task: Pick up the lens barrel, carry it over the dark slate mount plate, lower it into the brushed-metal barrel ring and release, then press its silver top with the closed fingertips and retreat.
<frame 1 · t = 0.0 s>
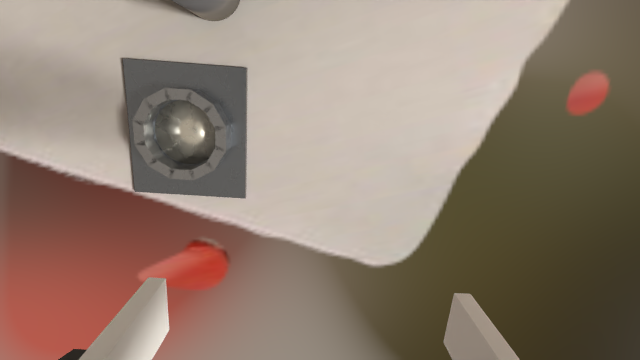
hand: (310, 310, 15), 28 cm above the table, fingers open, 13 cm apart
barrel mount: (189, 132, 40), on the table
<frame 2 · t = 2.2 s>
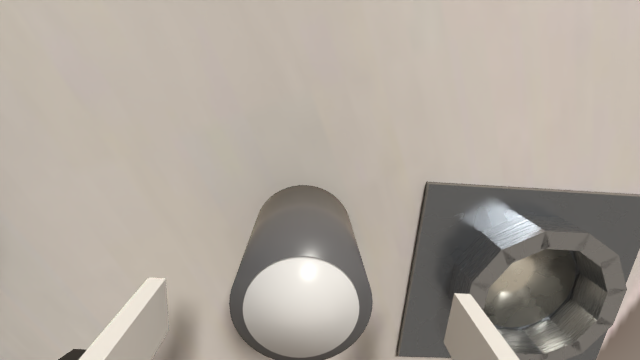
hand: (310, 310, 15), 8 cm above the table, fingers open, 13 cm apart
barrel mount: (516, 278, 24), on the table
lens barrel: (303, 230, 23), on the table
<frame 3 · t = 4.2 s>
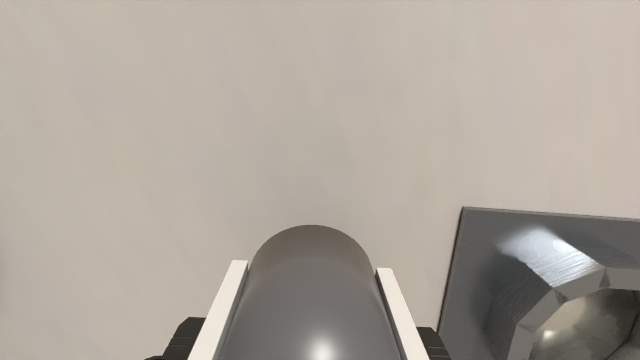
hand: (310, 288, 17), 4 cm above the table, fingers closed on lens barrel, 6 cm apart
barrel mount: (564, 315, 21), on the table
lens barrel: (311, 282, 17), point 3 cm above the table, touching gripper
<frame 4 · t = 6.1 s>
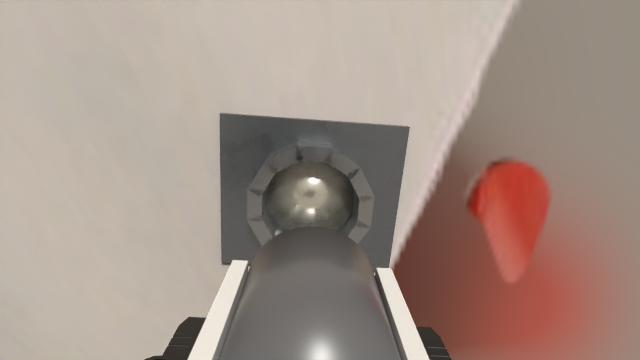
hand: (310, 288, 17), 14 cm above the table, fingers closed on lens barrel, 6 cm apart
barrel mount: (310, 196, 30), on the table
lens barrel: (311, 283, 17), point 14 cm above the table, touching gripper
when the fingers open (3 cm above the table, at t = 8.2 s): lens barrel drops 2 cm, resting on barrel mount.
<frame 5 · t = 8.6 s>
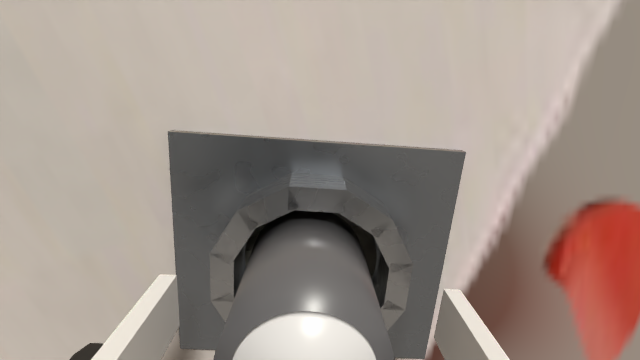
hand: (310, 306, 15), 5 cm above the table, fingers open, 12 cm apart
barrel mount: (311, 254, 20), on the table
lens barrel: (307, 259, 19), point 1 cm above the table, touching barrel mount
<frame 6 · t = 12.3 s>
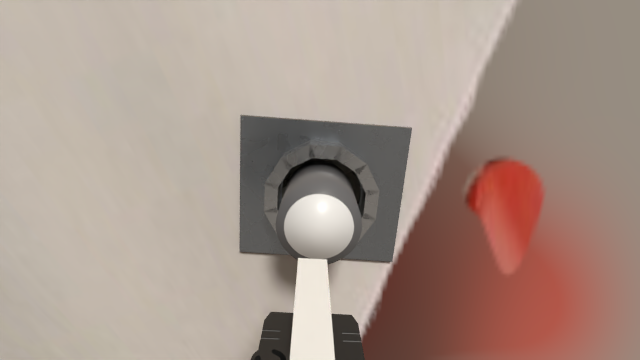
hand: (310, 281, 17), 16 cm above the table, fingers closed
barrel mount: (321, 191, 33), on the table
lens barrel: (319, 193, 32), point 1 cm above the table, touching barrel mount
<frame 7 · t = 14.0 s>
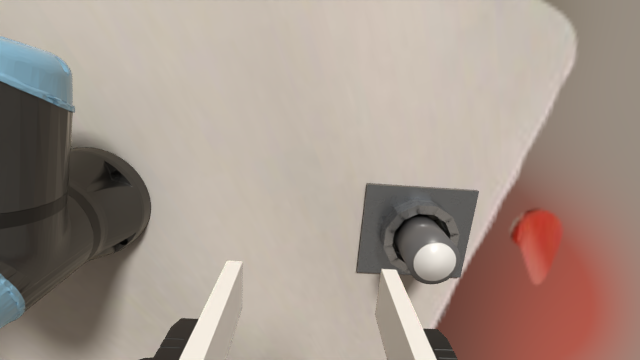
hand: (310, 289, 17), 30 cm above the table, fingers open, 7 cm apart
barrel mount: (415, 231, 49), on the table
lens barrel: (414, 233, 48), point 1 cm above the table, touching barrel mount
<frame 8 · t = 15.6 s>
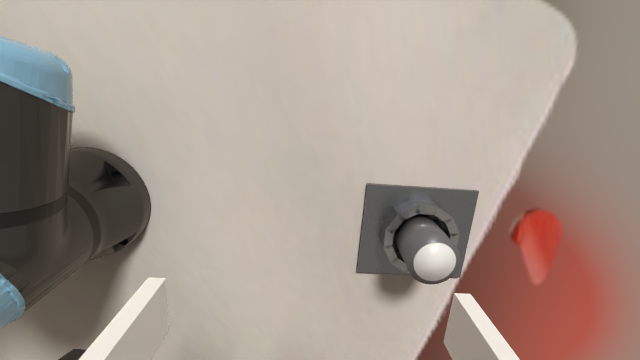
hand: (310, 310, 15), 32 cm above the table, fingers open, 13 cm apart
barrel mount: (414, 231, 49), on the table
lens barrel: (414, 233, 48), point 1 cm above the table, touching barrel mount
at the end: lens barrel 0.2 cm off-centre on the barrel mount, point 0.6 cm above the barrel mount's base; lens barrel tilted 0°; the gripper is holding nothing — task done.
